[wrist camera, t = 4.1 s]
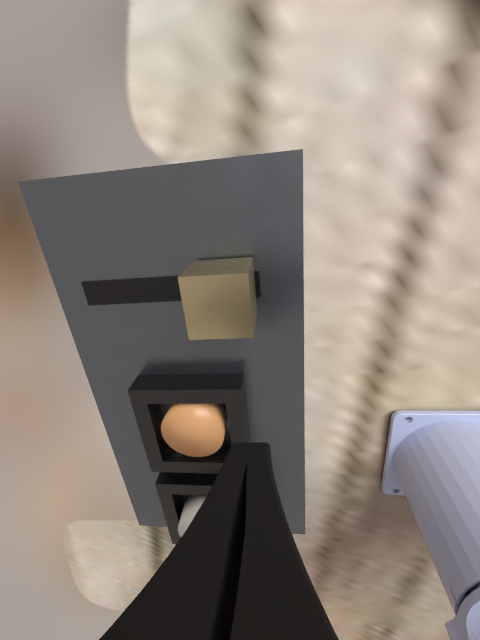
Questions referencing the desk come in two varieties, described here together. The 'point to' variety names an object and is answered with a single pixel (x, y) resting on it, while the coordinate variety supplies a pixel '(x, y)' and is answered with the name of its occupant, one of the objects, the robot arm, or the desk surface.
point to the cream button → (189, 512)
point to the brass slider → (219, 298)
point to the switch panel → (182, 313)
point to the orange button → (194, 428)
